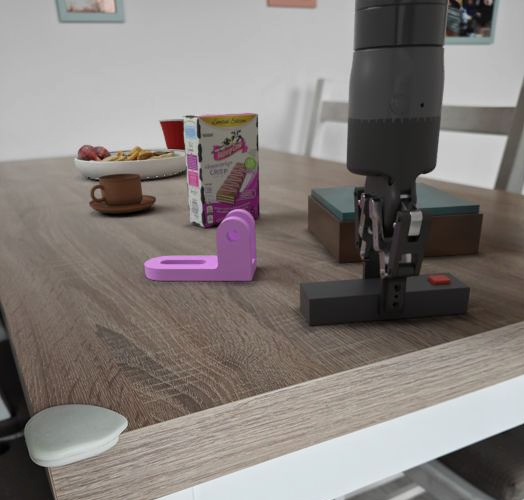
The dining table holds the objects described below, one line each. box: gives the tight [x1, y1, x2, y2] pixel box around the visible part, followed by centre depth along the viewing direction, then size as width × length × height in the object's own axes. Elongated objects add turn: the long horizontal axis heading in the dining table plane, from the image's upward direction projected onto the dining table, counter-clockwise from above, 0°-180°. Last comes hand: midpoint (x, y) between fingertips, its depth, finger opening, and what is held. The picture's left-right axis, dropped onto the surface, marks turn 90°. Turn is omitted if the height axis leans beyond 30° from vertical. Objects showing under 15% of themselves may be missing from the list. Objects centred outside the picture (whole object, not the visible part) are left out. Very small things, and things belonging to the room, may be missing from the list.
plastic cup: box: [157, 118, 185, 150], centre depth 179 cm, size 11×11×12 cm
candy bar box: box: [182, 112, 261, 229], centre depth 88 cm, size 11×5×16 cm, turn 126°
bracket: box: [143, 209, 258, 282], centre depth 64 cm, size 13×6×7 cm, turn 84°
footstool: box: [307, 182, 484, 264], centre depth 76 cm, size 18×19×6 cm
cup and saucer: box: [88, 174, 157, 215], centre depth 101 cm, size 12×12×6 cm
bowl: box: [74, 144, 186, 181], centre depth 146 cm, size 30×30×8 cm
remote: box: [299, 272, 471, 327], centre depth 52 cm, size 5×15×3 cm, turn 97°
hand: (381, 305), depth 53 cm, fingers closed on remote, 4 cm apart
